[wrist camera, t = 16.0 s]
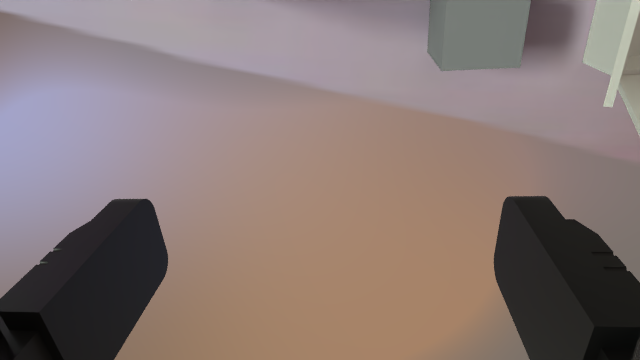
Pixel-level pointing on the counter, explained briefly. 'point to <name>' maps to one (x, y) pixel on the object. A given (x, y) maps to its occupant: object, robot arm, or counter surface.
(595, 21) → the carton
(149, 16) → the counter surface
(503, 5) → the box
